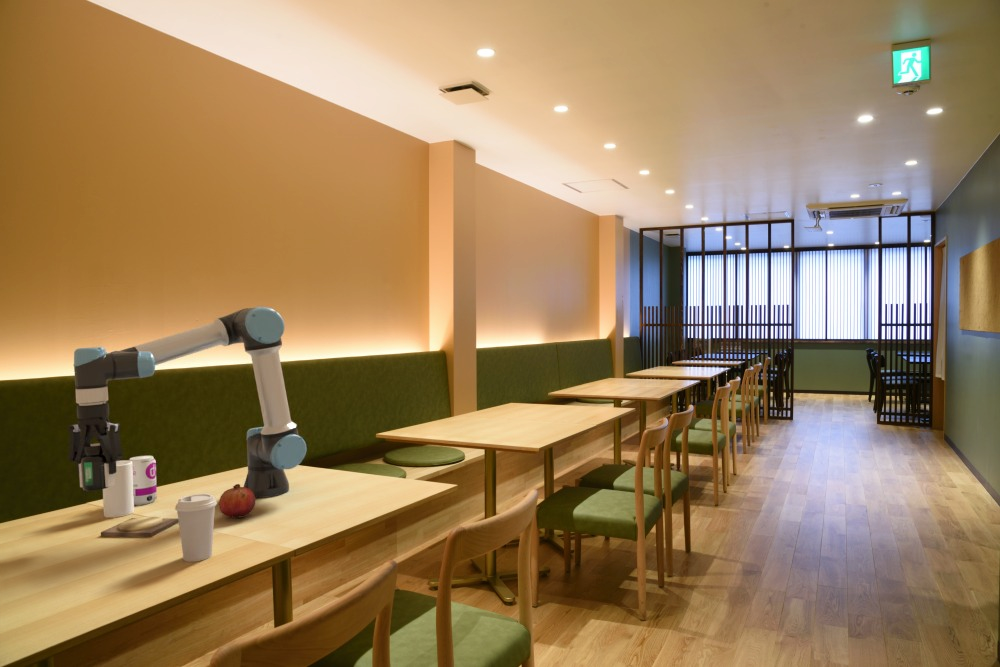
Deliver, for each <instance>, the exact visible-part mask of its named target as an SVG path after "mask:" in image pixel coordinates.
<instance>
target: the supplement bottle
mask: <svg viewBox="0 0 1000 667" xmlns="http://www.w3.org/2000/svg"><path fill="white" fill-rule="evenodd" d="M84 448H85V451H84V453H86V455H85V456H83V457H82V459H81V472H82V487H81V488H82V489H83V491H86V492H93V491H94V492H95V491H101V490H103V489H105V488H108V487H106V486H105V469H104V463H105V462H107V460H106V458H105V455H104V453H103V451H102V448H101V446H100V443H99V442H98V443H97V442H96V443H90V445H86V446H84Z"/></svg>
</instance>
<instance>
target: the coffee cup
mask: <svg viewBox="0 0 1000 667" xmlns="http://www.w3.org/2000/svg"><path fill="white" fill-rule="evenodd" d="M217 504H218V502H217V500H216V499H215V497H214V495H213V494H211V493H195V494H189V495H186V496H181V497H180V498H179V499H178V500H177V503H176V505H175V506H174V510H175V511H176V514H177V518H178V520H179V523H178V525H179V534H180V544H181V550H182V558H183V561H184V562H187V563H188V562H191V563H192V562H193V563H194V562H200V561H204V560H207V559H210V558H211V557H212V555H213V542H214V541H213V540H214V527H215V525H214V523H215V510H216V509H215V508H216V506H217Z"/></svg>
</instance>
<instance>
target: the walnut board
mask: <svg viewBox="0 0 1000 667" xmlns="http://www.w3.org/2000/svg"><path fill="white" fill-rule="evenodd" d="M177 524H179V520H178V517H176V518H174V517H173V518H171V517H170V518H168V517H166V518H162V517H161V516H160V517H159V516H143V517H137V518H135V517H134V518H133V517H132V518H129V519H127V520H125V521H122V522H120V523H118V524H116V525H114V526H112V527H109V528H107V529H105V530H102V531H101V532H100V537H101V538H102V537H108V538H110V537H111V538H112V537H113V538H115V537H116V538H117V537H118V538H119V537H120V538H121V537H122V538H130V537H131V538H152V537H154V536H156V535H158V534H160V533H161V532H164V531H165V530H167V529H170V528H171V527H173V526H175V525H177Z"/></svg>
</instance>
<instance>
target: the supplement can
mask: <svg viewBox="0 0 1000 667" xmlns="http://www.w3.org/2000/svg"><path fill="white" fill-rule="evenodd" d="M128 460H129V461H132V466H133V496H134V506H141V505H148V504H152V503H153V502H155V501H156V500H157V498H158V495H157V494H158V493H157V492H158V491H157V487H158V486H157V464H156V463H157V462H156V459H155V458H154V456H153V455H139V456H138V455H137V456H133V457H130V458H129V459H128Z"/></svg>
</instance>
